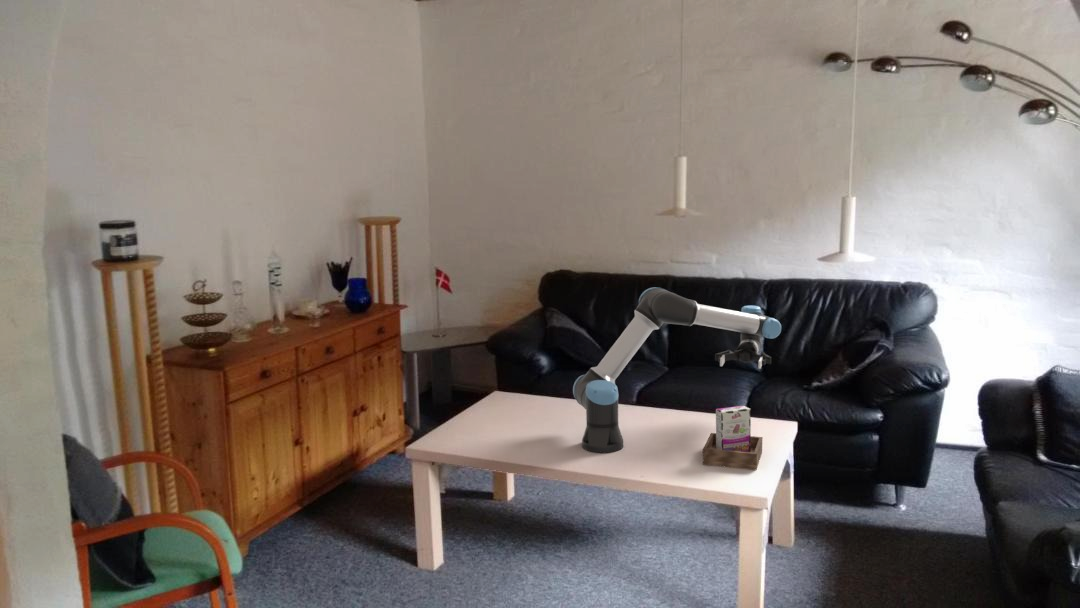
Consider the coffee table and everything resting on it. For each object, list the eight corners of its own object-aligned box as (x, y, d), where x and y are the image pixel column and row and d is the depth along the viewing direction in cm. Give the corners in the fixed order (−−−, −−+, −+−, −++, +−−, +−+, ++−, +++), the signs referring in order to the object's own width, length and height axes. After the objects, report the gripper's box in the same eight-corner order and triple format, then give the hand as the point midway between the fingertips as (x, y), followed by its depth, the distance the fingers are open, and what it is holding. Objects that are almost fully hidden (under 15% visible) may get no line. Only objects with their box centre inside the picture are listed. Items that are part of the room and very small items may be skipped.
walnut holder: (702, 464, 295) (702, 449, 294) (710, 447, 311) (711, 432, 310) (756, 469, 289) (756, 454, 288) (762, 452, 305) (762, 437, 304)
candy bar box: (743, 449, 304) (744, 404, 301) (750, 454, 299) (751, 408, 296) (714, 453, 301) (715, 408, 298) (721, 458, 296) (722, 412, 293)
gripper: (780, 362, 326) (775, 376, 307) (714, 358, 335) (705, 371, 315) (781, 343, 325) (776, 355, 305) (714, 339, 334) (705, 351, 314)
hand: (740, 363), depth 310 cm, fingers open, 13 cm apart
